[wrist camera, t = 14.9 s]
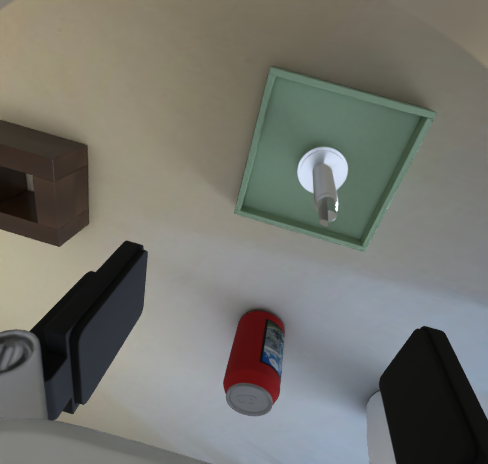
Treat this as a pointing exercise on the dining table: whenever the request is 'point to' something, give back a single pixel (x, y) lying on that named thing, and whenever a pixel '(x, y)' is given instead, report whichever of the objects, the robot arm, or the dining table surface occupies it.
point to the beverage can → (255, 364)
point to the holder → (42, 185)
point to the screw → (323, 179)
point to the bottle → (378, 433)
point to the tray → (336, 136)
